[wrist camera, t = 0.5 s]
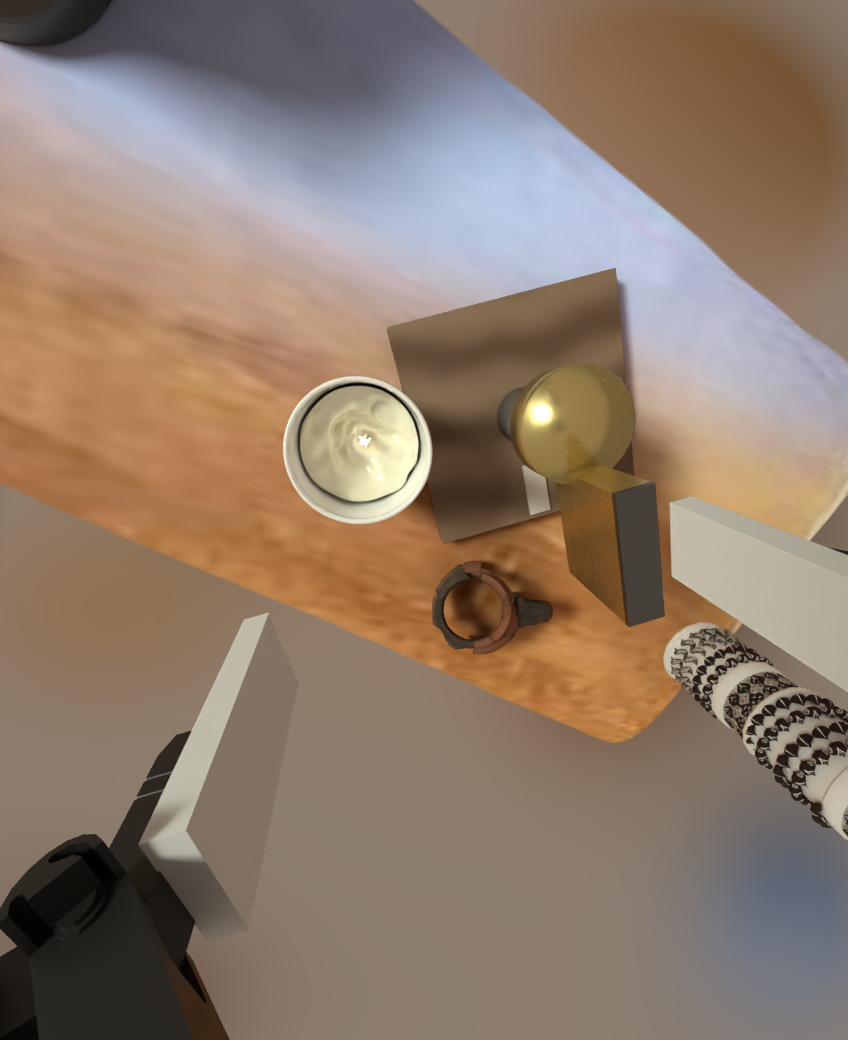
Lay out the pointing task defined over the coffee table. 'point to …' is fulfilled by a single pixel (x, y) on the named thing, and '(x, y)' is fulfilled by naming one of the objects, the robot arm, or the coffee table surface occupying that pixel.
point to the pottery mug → (512, 616)
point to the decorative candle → (768, 717)
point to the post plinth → (499, 392)
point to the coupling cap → (594, 484)
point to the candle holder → (357, 450)
